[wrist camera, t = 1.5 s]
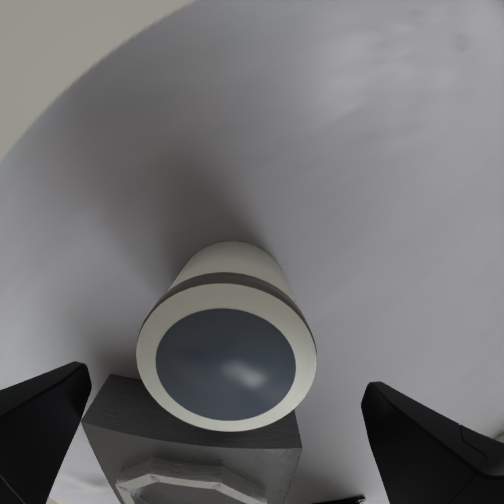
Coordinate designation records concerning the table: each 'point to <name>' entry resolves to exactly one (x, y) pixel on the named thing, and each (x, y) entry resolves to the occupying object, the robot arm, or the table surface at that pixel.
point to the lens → (227, 342)
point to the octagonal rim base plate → (185, 452)
